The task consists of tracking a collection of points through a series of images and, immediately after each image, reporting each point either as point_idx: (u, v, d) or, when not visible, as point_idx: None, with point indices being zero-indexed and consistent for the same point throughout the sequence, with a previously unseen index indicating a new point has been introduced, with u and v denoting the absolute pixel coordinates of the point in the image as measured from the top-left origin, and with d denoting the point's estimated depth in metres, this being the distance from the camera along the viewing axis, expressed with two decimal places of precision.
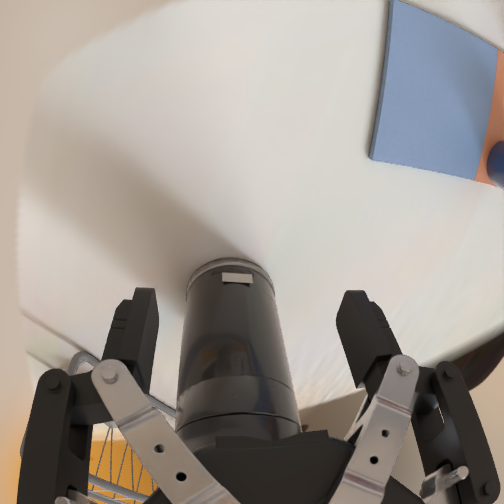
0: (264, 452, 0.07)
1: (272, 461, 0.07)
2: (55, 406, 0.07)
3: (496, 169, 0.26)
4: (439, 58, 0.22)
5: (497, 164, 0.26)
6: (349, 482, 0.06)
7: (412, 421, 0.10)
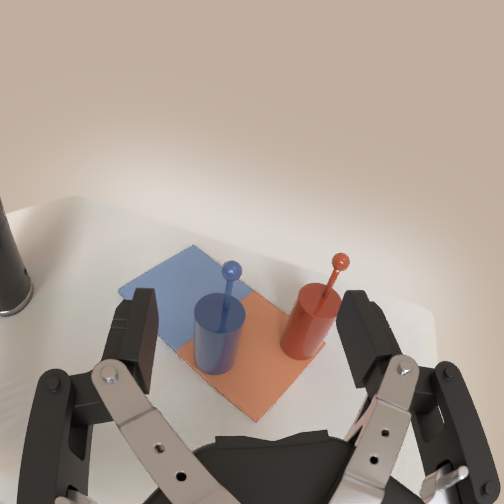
0: (264, 452, 0.07)
1: (272, 461, 0.07)
2: (55, 406, 0.07)
3: None
4: (196, 274, 0.51)
5: None
6: (349, 482, 0.06)
7: (412, 421, 0.10)
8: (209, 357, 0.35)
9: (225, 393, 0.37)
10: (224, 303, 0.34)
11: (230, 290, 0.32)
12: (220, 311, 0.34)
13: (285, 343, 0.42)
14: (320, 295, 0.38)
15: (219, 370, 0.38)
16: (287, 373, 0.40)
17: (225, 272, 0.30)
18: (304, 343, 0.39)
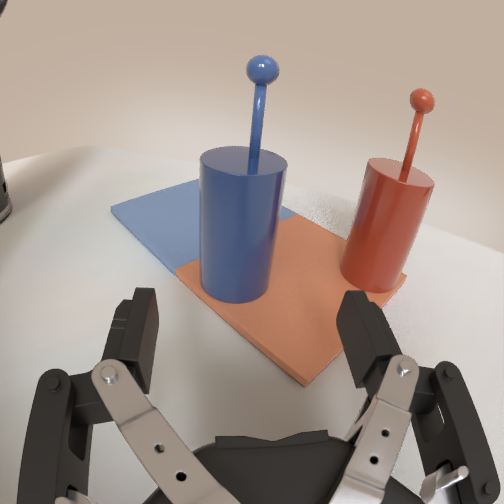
0: (264, 452, 0.07)
1: (272, 461, 0.07)
2: (55, 406, 0.07)
3: None
4: None
5: None
6: (349, 482, 0.06)
7: (412, 421, 0.10)
8: (222, 249, 0.21)
9: (249, 331, 0.21)
10: (251, 142, 0.20)
11: (261, 109, 0.18)
12: (245, 158, 0.20)
13: (350, 261, 0.26)
14: (399, 167, 0.23)
15: (240, 290, 0.23)
16: None
17: (252, 63, 0.16)
18: (382, 249, 0.23)
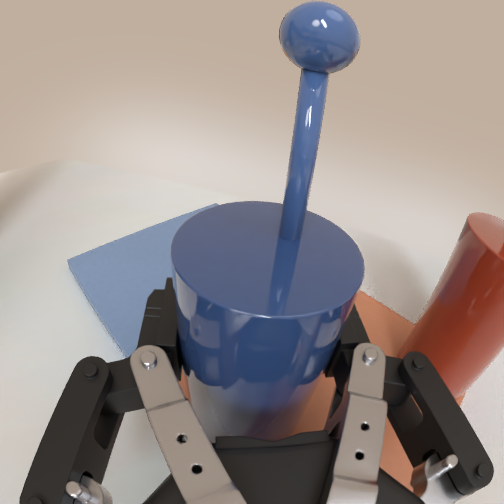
0: (264, 452, 0.07)
1: (272, 461, 0.07)
2: (94, 393, 0.08)
3: None
4: None
5: None
6: (340, 483, 0.06)
7: (386, 415, 0.10)
8: (227, 413, 0.10)
9: None
10: (287, 206, 0.09)
11: (315, 131, 0.08)
12: (272, 243, 0.09)
13: None
14: None
15: None
16: None
17: (298, 16, 0.06)
18: (471, 362, 0.12)
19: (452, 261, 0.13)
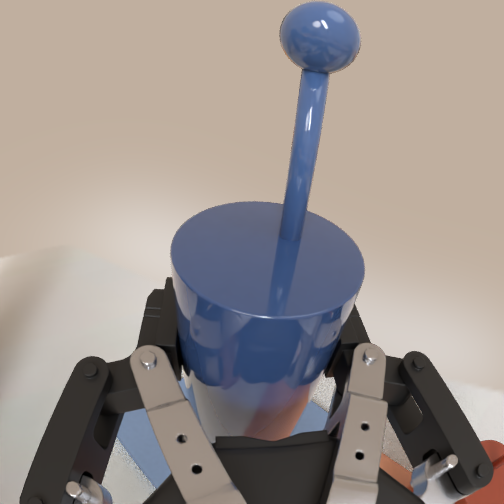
0: (264, 452, 0.07)
1: (272, 461, 0.07)
2: (94, 393, 0.08)
3: None
4: None
5: None
6: (341, 483, 0.06)
7: (386, 415, 0.10)
8: (227, 413, 0.10)
9: None
10: (288, 207, 0.09)
11: (315, 131, 0.08)
12: (273, 244, 0.09)
13: None
14: None
15: None
16: None
17: (298, 16, 0.06)
18: None
19: None
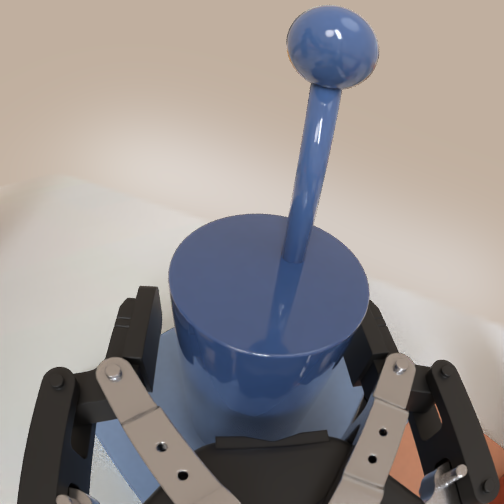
0: (264, 452, 0.07)
1: (272, 461, 0.07)
2: (59, 404, 0.07)
3: None
4: None
5: None
6: (348, 482, 0.06)
7: (409, 420, 0.10)
8: (227, 427, 0.10)
9: None
10: (291, 230, 0.08)
11: (324, 153, 0.07)
12: (275, 268, 0.09)
13: None
14: None
15: None
16: None
17: (309, 24, 0.05)
18: None
19: None
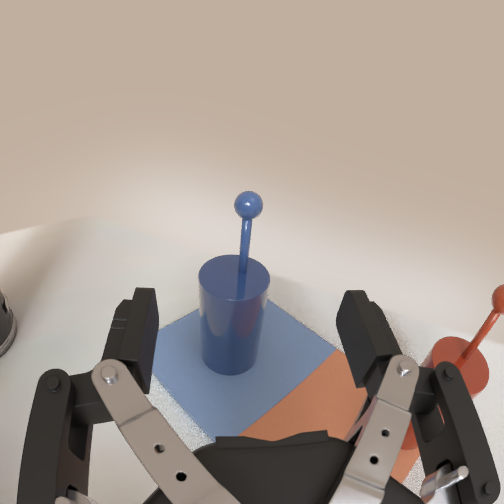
0: (264, 452, 0.07)
1: (272, 461, 0.07)
2: (55, 406, 0.07)
3: None
4: None
5: None
6: (349, 482, 0.06)
7: (412, 421, 0.10)
8: (219, 343, 0.26)
9: None
10: (240, 261, 0.25)
11: (247, 237, 0.23)
12: (235, 275, 0.25)
13: None
14: (460, 356, 0.19)
15: (234, 367, 0.28)
16: (393, 472, 0.20)
17: (239, 203, 0.22)
18: None
19: None
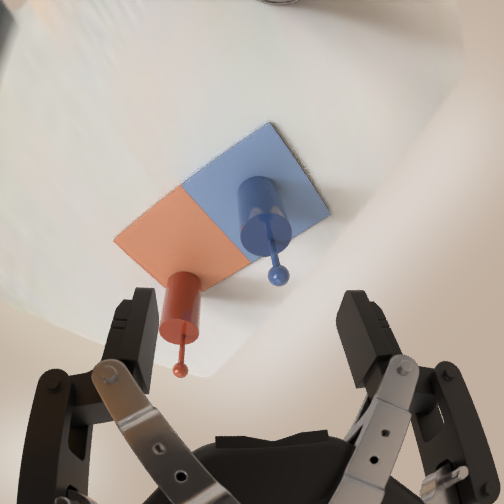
0: (264, 452, 0.07)
1: (272, 461, 0.07)
2: (55, 406, 0.07)
3: (273, 185, 0.40)
4: None
5: (276, 188, 0.40)
6: (349, 482, 0.06)
7: (412, 421, 0.10)
8: (240, 203, 0.38)
9: (136, 222, 0.43)
10: (270, 244, 0.34)
11: (272, 260, 0.32)
12: (266, 236, 0.34)
13: (176, 279, 0.47)
14: (183, 333, 0.43)
15: None
16: (155, 270, 0.48)
17: (274, 272, 0.29)
18: (164, 297, 0.46)
19: (187, 309, 0.43)
